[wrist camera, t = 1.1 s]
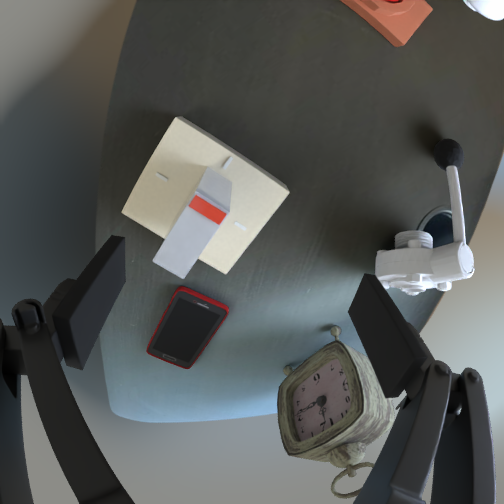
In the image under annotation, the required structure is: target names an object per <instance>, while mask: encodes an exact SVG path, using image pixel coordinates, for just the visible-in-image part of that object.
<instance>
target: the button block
mask: <svg viewBox="0 0 504 504" xmlns="http://www.w3.org/2000/svg"><path fill="white" fill-rule="evenodd" d="M340 1H342V2H343V3H344V4H346V5H347V6H348V7H350V8H351V9H352V10H353V11H355V12H356V13H357V14H358V15H360V16H361V17H362V18H363V19H365V20H366V21H367V22H368V23H369V24H370V25H372V26H373V27H374V28H375V29H376V30H377V31H378V32H380V33H381V34H382V35H383V36H384V37H385V38H386V39H387V40H388V41H389V42H390V43H391V44H393V45H394V46H395V47H397V46H401V45H404V44H405V43H406V42H407V41H408V39H409V38H410V37H411V36H412V34H413V33H414V32H415V31H416V29H417V28H418V27H419V26H420V25H421V23H422V22H423V21H424V20H425V18H426V17H427V16H428V15H429V13H430V12H431V11H432V10H433V9H432V8H431V7H430V6H429V5H428V4H427V3H426V2H425V1H424V0H398V1H394V2H392V1H387V0H340Z"/></svg>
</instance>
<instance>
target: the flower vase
mask: <svg viewBox="0 0 504 504" xmlns="http://www.w3.org/2000/svg"><path fill="white" fill-rule="evenodd" d="M463 1H464V2H465V4H466V5H467V6H468V7H470V8H471V9H472V10H474V11H476V12H479V13H480V14H482V15H483V16H485V17H487V18H489V19H491V20H501V19H503V18H504V0H463Z"/></svg>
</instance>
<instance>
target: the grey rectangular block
mask: <svg viewBox="0 0 504 504" xmlns="http://www.w3.org/2000/svg"><path fill="white" fill-rule="evenodd" d="M231 191H232V182H231V181H230V180H228V179H226V178H225V177H223V176H222V175H220V174H219V173H217V172H216V171H214V170H212V169H211V168H209V167H207V168H206V169H205V171H204V172H203V174H202V175H201V177H200V178H199V180H198V182H197V183H196V185H195V186H194V188H193V189H192V191H191V192H190V194H189V195H188V197H187V199H186V200H185V202H184V203H183V205H182V206H181V208H180V210H179V211H178V213H177V214H176V216H175V218H174V219H173V221H172V223H171V225H170V227H169V229H168V231H167V233H166V235H165V237H164V239H163V241H162V243H161V245H160V247H159V249H158V251H157V253H156V255H155V257H154V259H153V262H155V263H156V264H158V265H160V266H161V267H163V268H165V269H167V270H168V271H170V272H172V273H174V274H175V275H177V276H179V277H181V278H182V279H184V278H185V276H186V275H187V273H188V272H189V270H190V269H191V267H192V266H193V265H194V263H195V262H196V260H197V259H198V257H199V256H200V254H201V253H202V251H203V250H204V249H205V247H206V246H207V244H208V243H209V241H210V240H211V239H212V237H213V236H214V234H215V233H216V232H217V230H218V229H219V227H220V226H221V225H222V223H223V222H224V220H225V219H226V218H227V216H228V215H229V213H230V203H231Z"/></svg>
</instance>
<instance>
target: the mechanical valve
mask: <svg viewBox="0 0 504 504" xmlns="http://www.w3.org/2000/svg"><path fill="white" fill-rule="evenodd" d="M434 158H435V161H436V163H437V165H438V166H439V167H440V168H441V169H443V170H445V171H447V177H448V184H449V191H450V200H451V209H452V220H453V234H454V243H451V244H447V245H444V246H440V247H437V248H433V244H432V242H433V241H432V239H433V238H432V237H431V235H430V234H429V233H426V232H422V231H405V232H401V233H398V234H397V235H396V236H395V250H390V251H387V250H379V251H377V256H376V263H375V275H376V277H377V278H378V279H379V281H380V282H381V284H382V285H383V287H384V288H385V289H388V288H389V287H395V288H401V291H404V292H406V293H407V294H409V295H417V294H419V292H424V291H425V290H426V289H428V288H437V289H438V290H441V291H447V290H450V289H451V282H452V281H454V280H460V279H466V278H470V277H471V276H472V275H473V273H474V269H475V268H474V267H473V265H474V263H473V262H474V259H473V254H472V252H471V250H470V248H469V247H468V246H467V245H466V242H465V228H464V217H463V208H462V200H461V192H460V185H459V179H458V173H457V170H458V169H459V168H460V167H461V166H462V164H463V161H464V153H463V150H462V148H461V146H460V145H459V144H458V143H457V142H456V141H454V140H452V139H443V140H441V141H439V142H438V143H437V145H436V146H435V149H434Z"/></svg>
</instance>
